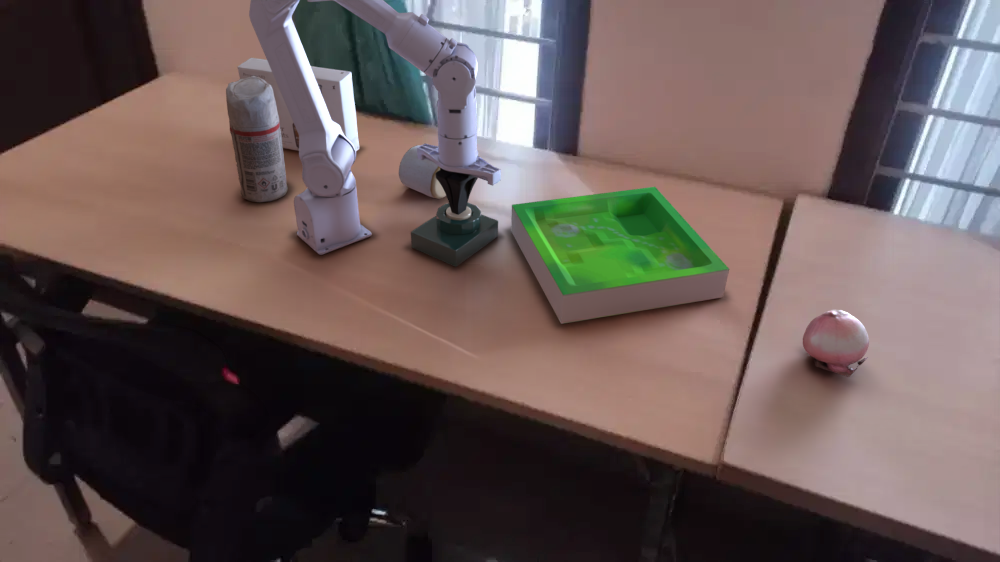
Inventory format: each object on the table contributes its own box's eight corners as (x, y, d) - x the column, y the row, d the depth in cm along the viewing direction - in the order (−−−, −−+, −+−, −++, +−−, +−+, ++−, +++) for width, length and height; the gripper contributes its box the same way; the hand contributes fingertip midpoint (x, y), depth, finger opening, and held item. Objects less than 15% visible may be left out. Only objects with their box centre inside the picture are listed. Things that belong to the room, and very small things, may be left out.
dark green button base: (456, 267, 118) (455, 239, 115) (411, 247, 122) (409, 220, 119) (498, 236, 125) (498, 209, 122) (454, 219, 129) (454, 192, 126)
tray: (561, 323, 107) (563, 295, 104) (511, 231, 126) (511, 204, 124) (723, 297, 113) (729, 269, 110) (651, 212, 132) (655, 186, 129)
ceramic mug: (433, 207, 132) (432, 166, 128) (398, 192, 136) (396, 152, 132) (472, 185, 139) (472, 146, 135) (438, 171, 143) (437, 133, 139)
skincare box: (250, 145, 151) (235, 65, 142) (265, 133, 155) (251, 56, 146) (348, 160, 146) (339, 80, 137) (361, 148, 150) (353, 69, 141)
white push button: (461, 232, 120) (460, 220, 119) (441, 224, 122) (440, 212, 121) (476, 221, 123) (476, 209, 122) (456, 213, 125) (456, 202, 123)
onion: (847, 341, 105) (863, 299, 101) (871, 380, 99) (889, 337, 94) (789, 342, 105) (802, 299, 100) (810, 381, 98) (825, 338, 94)
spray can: (297, 182, 139) (280, 74, 127) (281, 205, 132) (263, 93, 121) (251, 179, 139) (230, 72, 128) (234, 202, 133) (210, 91, 121)
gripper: (513, 134, 113) (511, 214, 120) (436, 110, 119) (439, 187, 127) (484, 151, 108) (484, 234, 116) (406, 125, 115) (411, 204, 123)
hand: (458, 211), depth 121 cm, fingers closed, pressing on white push button
